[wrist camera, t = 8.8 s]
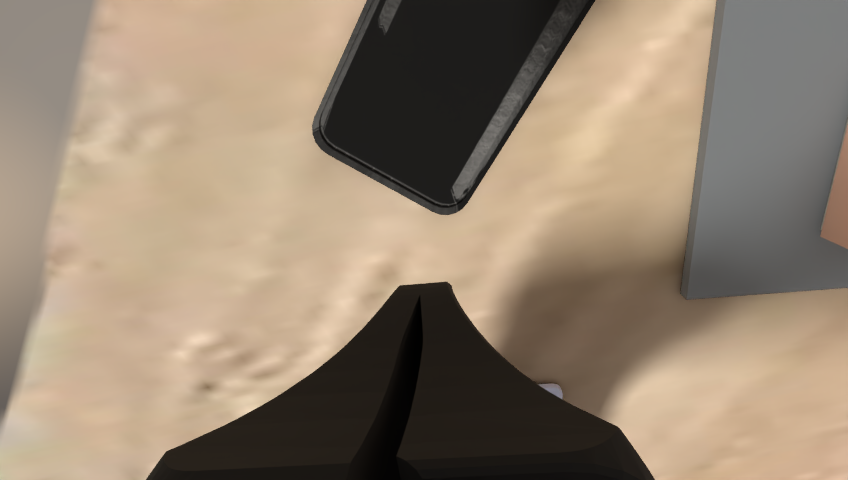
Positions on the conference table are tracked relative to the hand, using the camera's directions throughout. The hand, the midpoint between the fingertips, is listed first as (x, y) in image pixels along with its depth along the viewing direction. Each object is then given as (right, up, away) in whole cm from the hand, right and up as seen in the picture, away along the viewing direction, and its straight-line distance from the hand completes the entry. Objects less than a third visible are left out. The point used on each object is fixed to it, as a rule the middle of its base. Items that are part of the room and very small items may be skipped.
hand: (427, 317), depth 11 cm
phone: (+2, +11, +7) cm, 13 cm away
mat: (+19, +6, +8) cm, 21 cm away
